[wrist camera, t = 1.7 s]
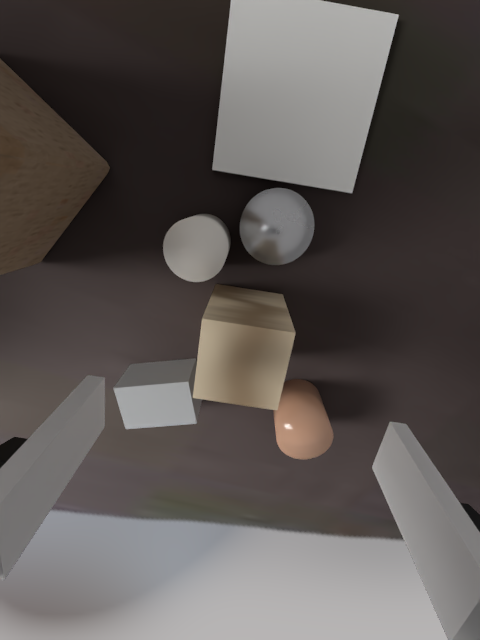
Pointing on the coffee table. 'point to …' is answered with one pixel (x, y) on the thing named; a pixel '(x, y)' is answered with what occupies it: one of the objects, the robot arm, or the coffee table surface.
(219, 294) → the maple block
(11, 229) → the wooden block
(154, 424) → the grey box
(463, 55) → the coffee table surface
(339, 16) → the coaster
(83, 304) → the coffee table surface
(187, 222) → the grey rounded cylinder
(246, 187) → the coffee table surface
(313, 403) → the peach capsule
